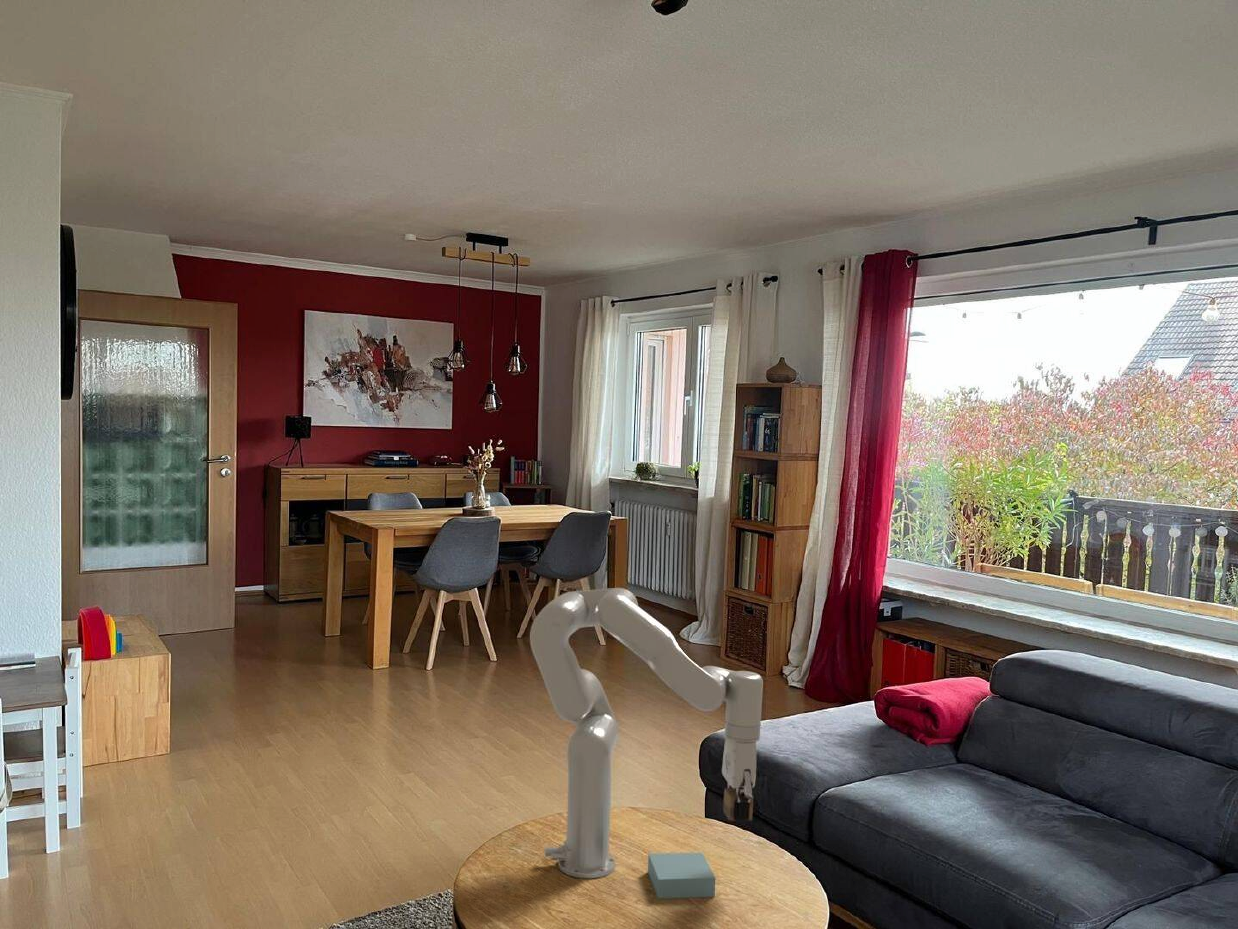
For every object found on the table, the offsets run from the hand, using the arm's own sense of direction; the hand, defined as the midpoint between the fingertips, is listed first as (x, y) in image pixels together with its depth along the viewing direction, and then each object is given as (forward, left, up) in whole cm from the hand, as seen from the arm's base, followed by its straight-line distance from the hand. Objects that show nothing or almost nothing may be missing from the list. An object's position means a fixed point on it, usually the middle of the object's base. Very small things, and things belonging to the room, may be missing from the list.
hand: (737, 813), depth 201 cm
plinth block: (-12, 0, -15) cm, 19 cm away
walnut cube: (0, 0, -1) cm, 1 cm away
